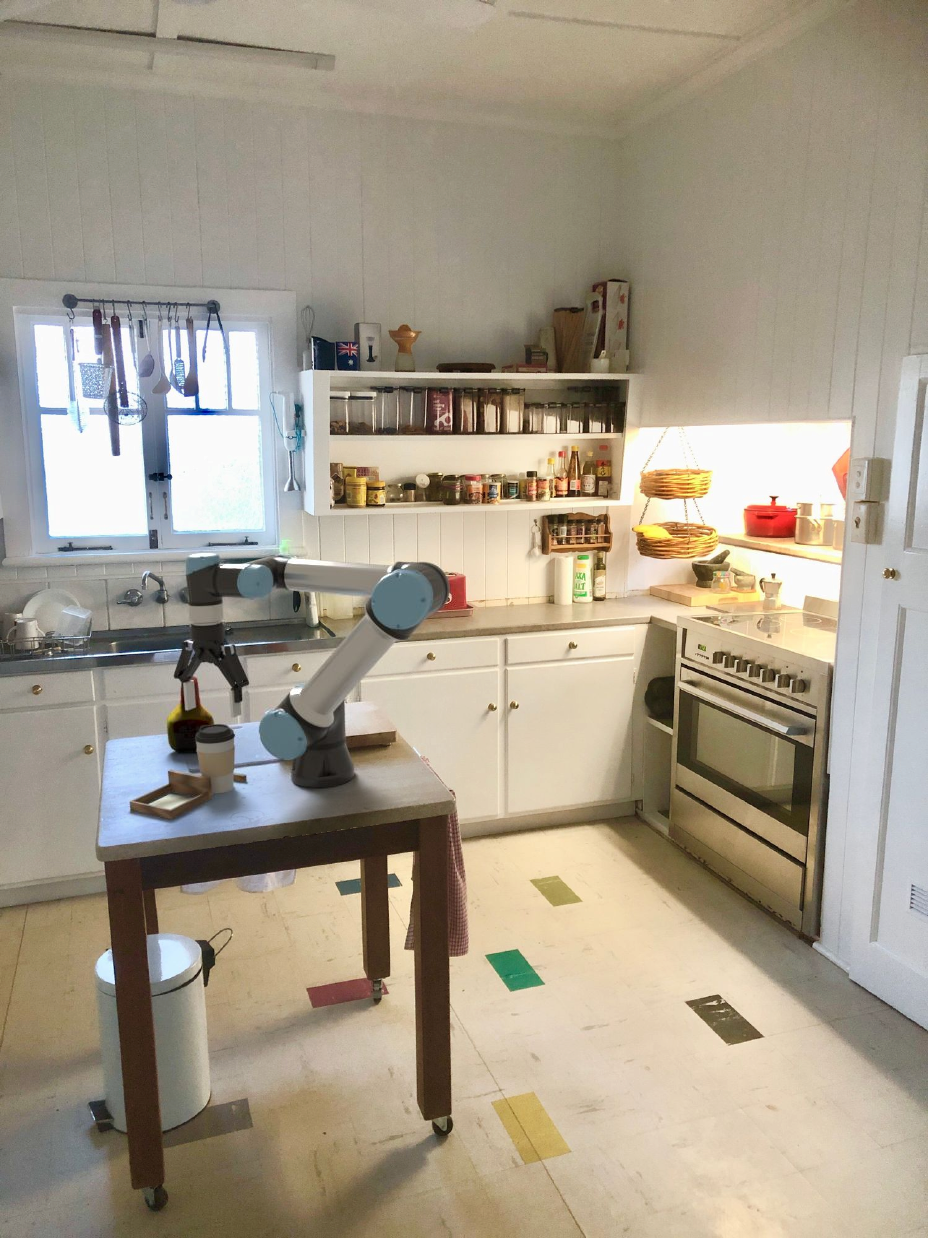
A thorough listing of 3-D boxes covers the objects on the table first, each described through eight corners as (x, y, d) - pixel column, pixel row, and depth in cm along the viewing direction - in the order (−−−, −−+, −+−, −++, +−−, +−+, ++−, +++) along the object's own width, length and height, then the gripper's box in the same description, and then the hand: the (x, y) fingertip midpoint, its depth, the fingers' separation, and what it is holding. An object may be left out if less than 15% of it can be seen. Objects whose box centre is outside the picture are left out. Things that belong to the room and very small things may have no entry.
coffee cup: (244, 782, 226) (241, 722, 223) (227, 797, 217) (223, 734, 214) (210, 779, 228) (205, 719, 225) (191, 794, 219) (186, 731, 216)
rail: (246, 780, 227) (246, 775, 226) (243, 782, 226) (243, 776, 225) (207, 773, 232) (207, 767, 232) (205, 774, 231) (204, 768, 231)
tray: (212, 798, 216) (210, 777, 215) (171, 819, 205) (169, 797, 204) (172, 790, 221) (170, 769, 220) (130, 810, 210) (128, 788, 209)
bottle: (218, 746, 251) (213, 673, 247) (211, 755, 245) (206, 680, 241) (173, 747, 251) (168, 674, 247) (165, 755, 245) (159, 680, 241)
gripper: (261, 623, 212) (266, 714, 216) (177, 614, 223) (183, 701, 227) (239, 629, 206) (245, 723, 210) (153, 620, 217) (160, 710, 221)
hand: (213, 712), depth 219 cm, fingers open, 13 cm apart
